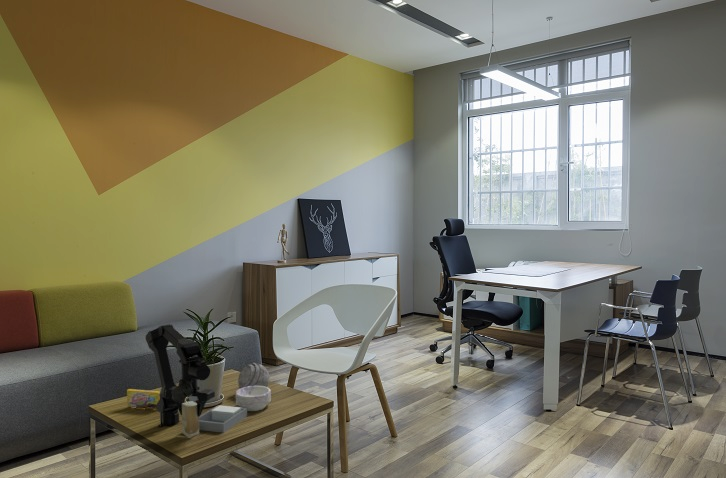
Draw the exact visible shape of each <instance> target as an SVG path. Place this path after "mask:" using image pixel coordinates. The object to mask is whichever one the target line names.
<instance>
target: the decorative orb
mask: <svg viewBox="0 0 726 478" xmlns="http://www.w3.org/2000/svg"><path fill="white" fill-rule="evenodd" d="M238 375H239V376H238V379H237V384H238V388H239V389H241V388H244V387H248V386H265V387H269V385H270V373H269V371H268V369H267V368H266V367H265V366H264V365H262V364H260V363H256V362H250V363H248V364H247V365H245V366H244V367H243V368H242V369H241V371H240V373H239V374H238Z"/></svg>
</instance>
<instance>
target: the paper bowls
mask: <svg viewBox="0 0 726 478" xmlns="http://www.w3.org/2000/svg"><path fill="white" fill-rule="evenodd" d="M271 391H272V390H271V388H270V387H269V386H267V387H265V386H248V387H244V388H241V389H240V388H239V389H237V390H236V391H235V405H237V407H241V408H247V412H257V411H261V410H263V409H265V408H266V406H267V405H268V404H269V403H270V402H271V401H272V392H271Z"/></svg>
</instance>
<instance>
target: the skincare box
mask: <svg viewBox="0 0 726 478" xmlns="http://www.w3.org/2000/svg"><path fill="white" fill-rule="evenodd" d="M181 433H182V434H183V435H184V436H185V437H186V438H188V439H192V438H193V437H195V436H197V435H198V436H199V434H200V430H199V417H198V415H197V403H196V402H194V401H193V400H189V401H186V402H185V403H182V415H181Z"/></svg>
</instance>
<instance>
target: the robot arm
mask: <svg viewBox="0 0 726 478" xmlns="http://www.w3.org/2000/svg"><path fill="white" fill-rule="evenodd" d="M145 342H146V343H147V346H148V348H149V349H150V350H151V351H152V352H153V354H154V358H155V363H156V366H157V371H158V375H159V381H160V385H161V389H160V394H159V397H160V400H159V401H158V403H157V404H156V410H155V411H157V412H158V413H160V414H159V416H160V417H159V419H160V423H159V424H158V425H157V427H161V428H163V427H170V428H171V427H173V426H176V425H177V424H179V423H180V422H181V423H182V420H180V416H182V403H185V400H186V398H189V397H197V399H196V400H195V403H197V415H198V417H199V416H201V415H202V414H203V413H202V412H203V410H204V407H205V406H206V403H207V401H209V400H211V399H213V398H215V396H216V394H215V393H216V392H215V391H214V389H209V388H207V389H206V388H205V389H203V390H200V386H198V380H199V381H205V380H207V379H208V378H209V377H210V375H211V369H210V366H209V365H207V364H206V361H205V357H204V356H205V355H204V353H203V351H202V349H201V347H200V345H199V343H198V342H197V341H196V340H195V341H194V340H193V339H187V338H186V337H185V336H183V335H182V334H181V333H180V332H179V331H177V329H175V327H174V326H173V324H164V325H159V326H158V327H157V328H154V329H152V330H149V331H148V332H147V333H146V335H145ZM169 343H170V344H171V345H172V346H173V347H174V348H175V349H176V354H177V356H178V357H179V358H180V359H179V360H178V363H180V364H181V365H180V366H181V369H180V370H181V378H180V379H179V382H178V385H176V383H175V381H174V377H173V372H172V367H171V363H170V359H169V355H168V351H167V348H168V346H169Z"/></svg>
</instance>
